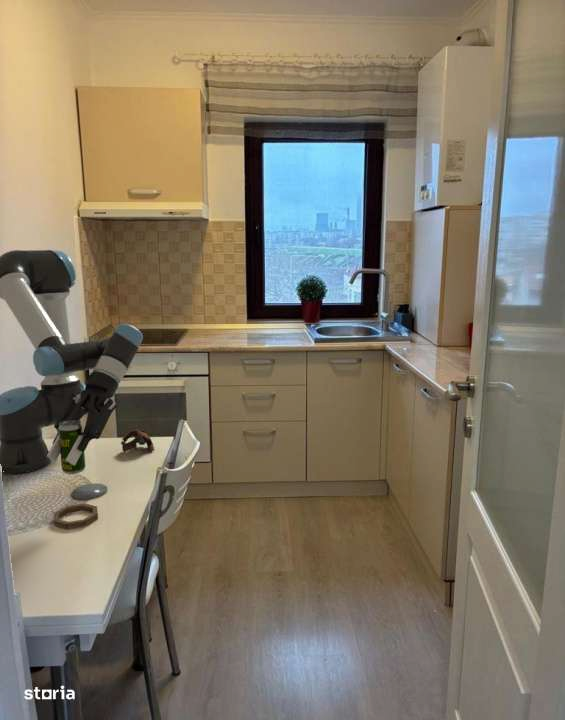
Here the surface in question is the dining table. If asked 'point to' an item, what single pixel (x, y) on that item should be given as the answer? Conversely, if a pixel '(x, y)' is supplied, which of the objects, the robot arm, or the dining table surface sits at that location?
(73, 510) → the walnut ring
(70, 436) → the beer can
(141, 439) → the dark brown arched part
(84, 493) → the slate coaster
